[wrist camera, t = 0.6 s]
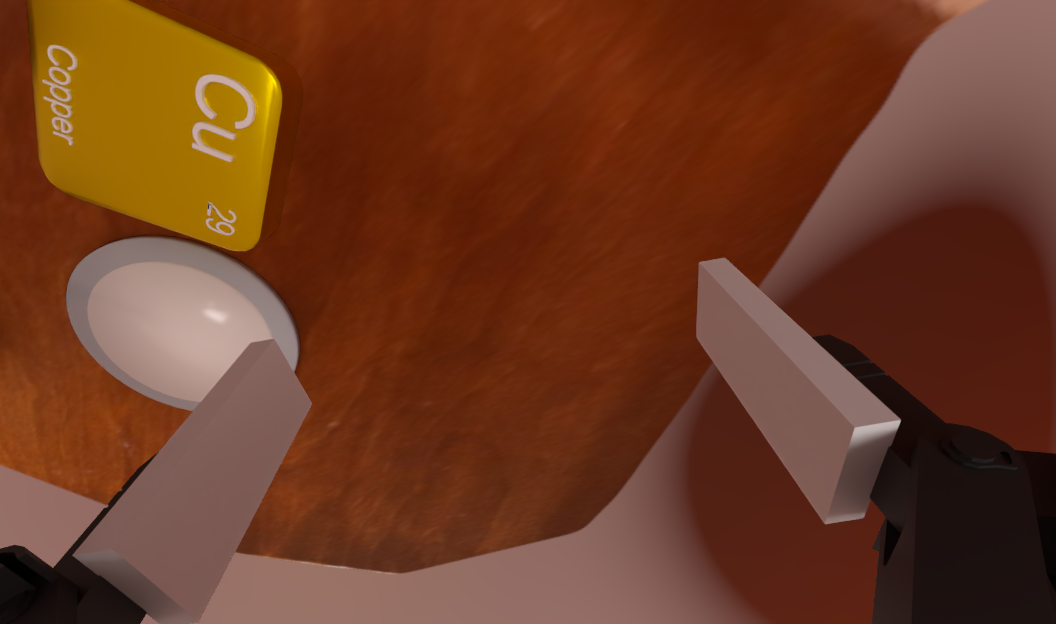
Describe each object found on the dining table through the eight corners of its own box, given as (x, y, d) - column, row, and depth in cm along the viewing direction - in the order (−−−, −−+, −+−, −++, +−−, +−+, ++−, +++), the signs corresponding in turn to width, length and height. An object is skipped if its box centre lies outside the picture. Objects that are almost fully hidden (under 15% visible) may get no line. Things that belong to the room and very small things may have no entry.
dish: (21, 273, 39) (5, 281, 38) (216, 205, 37) (206, 210, 36) (176, 425, 49) (167, 435, 48) (337, 378, 47) (332, 387, 46)
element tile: (78, -37, 29) (10, -52, 25) (310, 69, 33) (283, 71, 29) (85, 173, 36) (31, 188, 32) (278, 241, 40) (252, 262, 36)
